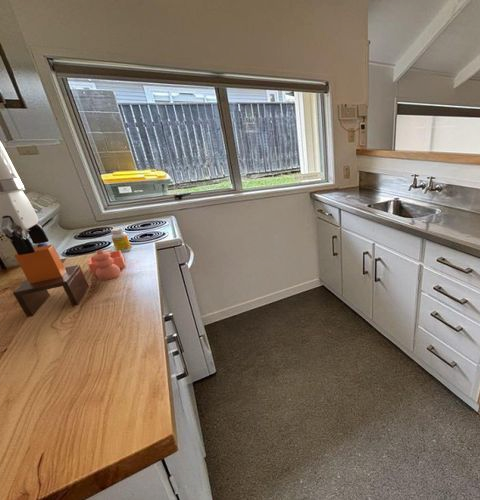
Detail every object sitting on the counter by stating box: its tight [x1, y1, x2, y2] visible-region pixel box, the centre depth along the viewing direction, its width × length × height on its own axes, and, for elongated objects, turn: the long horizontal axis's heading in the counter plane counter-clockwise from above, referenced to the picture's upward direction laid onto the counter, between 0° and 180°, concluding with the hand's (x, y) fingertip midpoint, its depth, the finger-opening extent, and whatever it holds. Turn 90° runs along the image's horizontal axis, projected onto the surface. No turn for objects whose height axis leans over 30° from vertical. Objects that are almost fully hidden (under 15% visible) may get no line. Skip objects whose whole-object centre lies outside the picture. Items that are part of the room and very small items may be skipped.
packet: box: [13, 244, 66, 283], centre depth 81 cm, size 7×4×9 cm, turn 120°
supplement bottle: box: [110, 227, 133, 253], centre depth 121 cm, size 5×5×10 cm
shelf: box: [12, 264, 90, 318], centre depth 85 cm, size 11×13×8 cm
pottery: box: [88, 249, 126, 281], centre depth 102 cm, size 18×10×10 cm, turn 39°
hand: (34, 247), depth 79 cm, fingers open, 9 cm apart
